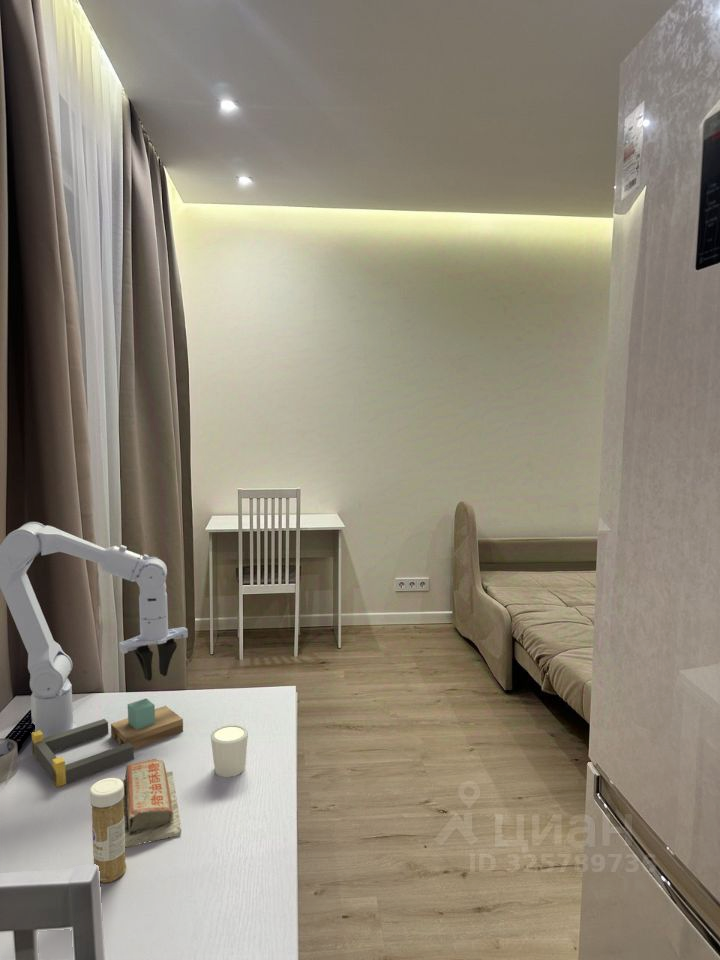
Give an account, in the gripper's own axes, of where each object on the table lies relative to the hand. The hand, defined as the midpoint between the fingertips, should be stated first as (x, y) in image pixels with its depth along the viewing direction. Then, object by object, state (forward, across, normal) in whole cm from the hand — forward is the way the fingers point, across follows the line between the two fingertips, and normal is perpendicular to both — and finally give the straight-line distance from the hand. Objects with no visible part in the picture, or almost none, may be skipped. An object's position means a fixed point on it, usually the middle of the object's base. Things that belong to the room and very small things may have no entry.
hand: (155, 676), depth 136 cm
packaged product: (+11, -15, -28) cm, 34 cm away
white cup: (+10, +2, -27) cm, 29 cm away
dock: (+10, -17, -4) cm, 20 cm away
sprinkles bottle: (+10, -25, -39) cm, 47 cm away
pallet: (+10, -4, -4) cm, 12 cm away
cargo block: (+7, -5, -4) cm, 10 cm away
